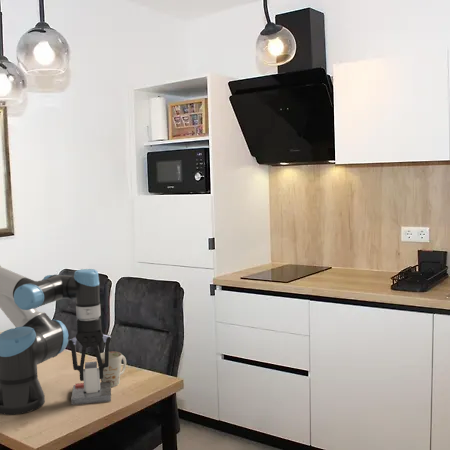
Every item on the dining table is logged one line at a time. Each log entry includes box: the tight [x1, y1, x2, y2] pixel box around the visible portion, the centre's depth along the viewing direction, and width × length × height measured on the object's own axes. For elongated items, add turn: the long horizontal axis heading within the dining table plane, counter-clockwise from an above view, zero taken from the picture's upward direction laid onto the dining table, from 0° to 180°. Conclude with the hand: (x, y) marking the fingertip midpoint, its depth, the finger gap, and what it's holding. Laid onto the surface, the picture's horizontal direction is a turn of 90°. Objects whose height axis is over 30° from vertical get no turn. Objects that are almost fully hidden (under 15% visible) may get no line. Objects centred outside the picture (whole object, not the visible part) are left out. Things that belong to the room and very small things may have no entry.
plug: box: [84, 360, 98, 393], centre depth 186 cm, size 4×4×9 cm
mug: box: [97, 351, 127, 388], centre depth 199 cm, size 8×13×10 cm, turn 152°
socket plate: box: [70, 382, 112, 406], centre depth 187 cm, size 12×12×3 cm
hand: (92, 389), depth 187 cm, fingers closed on plug, 4 cm apart
